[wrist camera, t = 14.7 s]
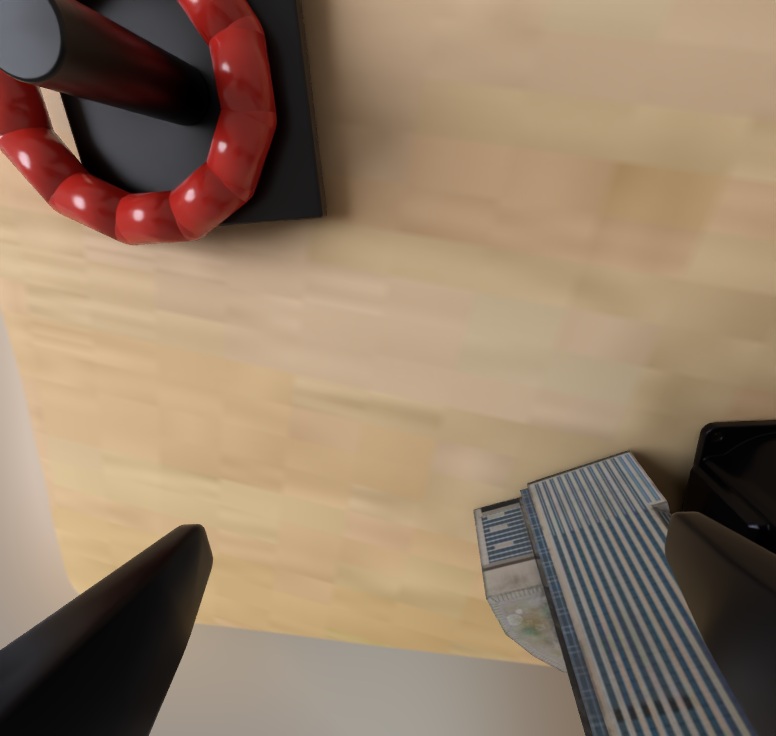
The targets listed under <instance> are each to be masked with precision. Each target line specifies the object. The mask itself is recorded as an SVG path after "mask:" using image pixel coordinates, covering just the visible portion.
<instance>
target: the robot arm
mask: <svg viewBox="0 0 776 736" xmlns="http://www.w3.org/2000/svg"><path fill="white" fill-rule="evenodd" d="M715 432H717V434H716V435H714V436H712V434H714V433H715ZM711 436H712V437H711ZM665 555H666V559H667V561H668V563H669V566H670V568H671V570H672V572H673V575H674V577H675V579H676V581H677V583H678V586H679V588H680V590H681V592H682V594H683V597H684V599H685V601H686V603H687V605H688V608H689V610H690V612H691V614H692V616H693V619H694V621H695V623H696V625H697V628H698V630H699V632H700V634H701V636H702V638H703V640H704V642H705V644H706V646H707V648H708V650H709V652H710V653H711V655H712V657H713V659H714V661H715V662H716V664H717V666H718V668H719V669H720V671H721V673H722V675H723V676H724V678H725V680H726V682H727V683H728V685H729V687H730V689H731V690H732V692H733V694H734V696H735V697H736V699H737V701H738V703H739V704H740V706H741V708H742V710H743V711H744V713H745V715H746V717H747V718H748V720H749V722H750V724H751V725H752V727H753V729H754V731H755V732H756V734H757V736H776V420H764V421H739V422H714V423H709V424H707V425H705V426H704V427H703V428H702V430H701V432H700V437H699V441H698V446H697V450H696V455H695V459H694V464H693V467H692V469H691V472H690V476H689V481H688V486H687V490H686V495H685V499H684V504H683V512H675V513H673V514H672V516H671V518H670V522H669V526H668V531H667V536H666V541H665ZM212 564H213V556H212V551H211V548H210V545H209V541H208V538H207V535H206V531H205V529H204V527H203V526H202V525H200V524H187V525H181V526H179V527H177V528H176V529H174V530H173V531H171V532H170V533H168V534H167V535H166V536H164V537H163V538H161V539H160V540H158V541H157V542H156V543H154V544H153V545H151V546H150V547H148V548H147V549H145V550H144V551H143V552H141V553H140V554H138V555H137V556H135V557H134V558H132V559H131V560H130V561H128V562H127V563H125V564H124V565H122V566H121V567H120V568H118V569H117V570H115V571H114V572H112V573H111V574H109V575H108V576H107V577H105V578H104V579H102V580H101V581H99V582H98V583H96V584H95V585H94V586H92V587H91V588H89V589H88V590H86V591H85V592H83V593H82V594H81V595H79V596H78V597H76V598H75V599H73V600H72V601H71V602H69V603H68V604H66V605H65V606H63V607H62V608H60V609H59V610H58V611H56V612H55V613H54V614H52V615H50V616H49V617H47V618H46V619H45V620H43V621H42V622H40V623H39V624H37V625H36V626H34V627H33V628H32V629H30V630H29V631H27V632H26V633H24V634H23V635H22V636H20V637H19V638H17V639H16V640H14V641H13V642H11V643H10V644H9V645H7V646H6V647H4V648H3V649H2V650H0V736H149V734H150V731H151V729H152V727H153V724H154V722H155V720H156V717H157V715H158V712H159V710H160V708H161V705H162V703H163V701H164V698H165V696H166V694H167V691H168V689H169V687H170V684H171V682H172V680H173V677H174V675H175V672H176V670H177V668H178V666H179V663H180V661H181V659H182V656H183V653H184V651H185V649H186V646H187V643H188V640H189V637H190V635H191V632H192V628H193V625H194V622H195V619H196V616H197V613H198V610H199V607H200V603H201V600H202V597H203V594H204V591H205V588H206V585H207V581H208V578H209V575H210V572H211V569H212Z"/></svg>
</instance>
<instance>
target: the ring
mask: <svg viewBox="0 0 776 736" xmlns="http://www.w3.org/2000/svg"><path fill="white" fill-rule="evenodd" d="M177 2H178V3H179V5H180V6H181V7H182V9H183V10H184V12H185V13H186V15H187V16H188V18H189V19H190V20H191V22H192V23H193V25H194V26H195V28H196V29H197V31H198V32H199V34H200V35H201V36H202V38H203V39H204V41H205V42H206V44H207V45H208V47H209V50H210V55H211V60H212V66H213V71H214V76H215V81H216V87H217V92H218V97H219V102H220V108H221V110H220V114H219V117H218V121H217V124H216V128H215V131H214V135H213V138H212V142H211V145H210V149H209V152H208V156H207V160H206V162H205V163H203V164H202V165H201V166H200V167H199V168H198V169H197V170H195V171H194V172H193V173H192V174H191V175H190V176H189V177H187V178H186V179H185V180H184V181H183V182H182V183H180V184H179V185H178V186H177V187H176V188H175V189H174V190H171V191H159V192H147V193H135V194H131V193H129V192H127V191H125V190H123V189H120V188H118V187H116V186H114V185H112V184H110V183H108V182H106V181H104V180H102V179H100V178H98V177H95V176H93V175H91V174H89V172H88V171H87V170H86V169H85V168H84V166H83V165H82V164H81V163H80V162H79V160H78V159H77V158H76V157H75V156H74V155H73V153H72V152H71V151H70V150H69V149H68V147H67V146H66V145H65V144H64V143H63V141H62V140H61V139H60V138H59V137H58V135H57V134H56V133H55V132H54V130H53V127H52V124H51V121H50V118H49V114H48V111H47V108H46V105H45V102H44V99H43V96H42V93H41V89H40V86H36V85H32V84H29V83H25V82H21V81H19V80H16V79H14V78H12V77H11V76H9V75H7V74H6V73H5V72H3V71H2V70H1V69H0V150H1V151H2V152H3V153H4V154H5V156H6V157H7V158H8V159H9V160H10V161H11V162H12V163H13V165H14V166H15V167H16V168H17V169H18V170H19V171H20V172H21V174H22V175H23V176H24V177H25V178H26V179H27V180H28V181H29V183H30V184H31V185H32V186H33V187H34V188H35V189H36V190H37V192H38V193H39V194H40V195H41V196H42V197H43V198H44V199H45V201H46V202H47V203H48V204H49V205H50V206H51V207H52V208H53V209H54V210H55V211H57V212H58V213H60V214H62V215H64V216H66V217H68V218H70V219H72V220H75V221H77V222H79V223H81V224H83V225H85V226H87V227H90V228H92V229H94V230H96V231H98V232H100V233H102V234H105V235H107V236H109V237H111V238H113V239H115V240H117V241H120V242H122V243H125V244H129V245H144V244H157V243H170V242H184V241H195V240H198V239H201V238H203V237H204V236H206V235H207V234H208V233H209V232H211V231H212V230H213V229H214V228H215V227H217V226H218V225H219V224H220V223H222V222H223V221H224V220H225V219H227V218H228V217H229V216H230V215H232V214H233V213H234V212H235V211H236V210H238V209H239V208H240V207H241V206H243V205H244V204H245V203H246V202H248V201H249V200H250V199H251V198H252V196H253V194H254V193H255V190H256V187H257V184H258V181H259V178H260V175H261V172H262V169H263V166H264V163H265V160H266V157H267V154H268V151H269V148H270V145H271V142H272V139H273V136H274V133H275V130H276V125H277V113H276V106H275V99H274V92H273V86H272V79H271V72H270V66H269V59H268V52H267V46H266V39H265V34H264V30H263V27H262V25H261V23H260V21H259V19H258V18H257V16H256V15H255V13H254V12H253V10H252V9H251V7H250V6H249V4H248V2H247V1H246V0H177Z"/></svg>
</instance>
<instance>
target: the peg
mask: <svg viewBox="0 0 776 736" xmlns="http://www.w3.org/2000/svg"><path fill="white" fill-rule="evenodd" d="M246 1H247V2H248V4H249V6H250V7H251V9H252V10H253V12H254V13H255V15H256V16H257V18H258V19H259V21H260V23H261V25H262V27H263V30H264V34H265V39H266V46H267V52H268V59H269V66H270V72H271V79H272V86H273V92H274V99H275V106H276V113H277V125H276V130H275V133H274V136H273V139H272V142H271V145H270V148H269V151H268V154H267V157H266V160H265V163H264V166H263V169H262V172H261V175H260V178H259V181H258V184H257V187H256V190H255V193H254V194H253V196H252V198H251V199H250V200H249V201H248V202H246V203H245V204H244V205H243V206H241V207H240V208H239V209H238V210H236V211H235V212H234V213H233V214H232V215H230V216H229V217H228V218H227V219H225V220H224V221H223V222H222V223H220V224H219V225H218V226H221V225H234V224H247V223H259V222H272V221H284V220H297V219H309V218H321V217H325V216H327V210H326V202H325V194H324V185H323V177H322V169H321V161H320V153H319V144H318V136H317V128H316V120H315V112H314V104H313V95H312V87H311V79H310V71H309V63H308V54H307V46H306V38H305V30H304V22H303V14H302V5H301V0H246ZM0 69H1V70H2V71H3V72H5V73H6V74H7V75H9V76H11V77H12V78H14V79H16V80H19V81H21V82H25V83H29V84H32V85H36V86H40V87H43V88H47V89H50V90H54V91H58V92H60V95H61V98H62V101H63V105H64V108H65V111H66V114H67V118H68V121H69V124H70V127H71V131H72V134H73V137H74V140H75V144H76V147H77V150H78V153H79V157H80V160H81V163H82V165H83V166H84V168H85V169H86V170H87V171H88V172H89V174H91V175H93V176H95V177H98V178H100V179H102V180H104V181H106V182H108V183H110V184H112V185H114V186H116V187H118V188H120V189H123V190H125V191H127V192H129V193H131V194H135V193H147V192H159V191H171V190H174V189H175V188H176V187H177V186H178V185H179V184H180V183H182V182H183V181H184V180H185V179H186V178H187V177H189V176H190V175H191V174H192V173H193V172H194V171H195V170H197V169H198V168H199V167H200V166H201V165H202V164H203V163H205V162H206V160H207V156H208V152H209V149H210V145H211V142H212V138H213V135H214V131H215V128H216V124H217V121H218V117H219V114H220V110H221V108H220V102H219V97H218V92H217V87H216V81H215V76H214V71H213V66H212V60H211V55H210V50H209V47H208V45H207V44H206V42H205V41H204V39H203V38H202V36H201V35H200V34H199V32H198V31H197V29H196V28H195V26H194V25H193V23H192V22H191V20H190V19H189V18H188V16H187V15H186V13H185V12H184V10H183V9H182V7H181V6H180V5H179V3H178V2H177V0H0Z"/></svg>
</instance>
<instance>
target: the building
mask: <svg viewBox="0 0 776 736" xmlns="http://www.w3.org/2000/svg"><path fill="white" fill-rule="evenodd" d="M527 485H528V488H527V489H524V490H520V492H521V495H522V498H517V499H513V500H509V501H506V502H502V503H498V504H494V505H491V506H487V507H483V508H480V509H476V510H474V517H475V524H476V531H477V538H478V545H479V552H480V559H481V566H482V573H483V580H484V587H485V594H486V599H487V601H488V603H489V604H490V606H491V608H492V610H493V612H494V614H495V616H496V617H497V619H498V621H499V623H500V625H501V627H502V628H503V630H504V632H505V634H506V635H507V636H509V637H510V638H511V639H512V640H514V641H515V642H516V643H517V644H519V645H520V646H521V647H522V648H524V649H525V650H526V651H528V652H529V653H530V654H531V655H533V656H534V657H536V658H538V659H540V660H542V661H544V662H545V663H547V664H549V665H551V666H553V667H555V668H557V669H559V670H560V671H562V672H566V673H568V676H569V679H570V683H571V686H572V690H573V693H574V697H575V700H576V704H577V707H578V711H579V714H580V718H581V721H582V725H583V728H584V732H585V735H586V736H757V734H756V732H755V731H754V729H753V727H752V725H751V724H750V722H749V720H748V718H747V717H746V715H745V713H744V711H743V710H742V708H741V706H740V704H739V703H738V701H737V699H736V697H735V696H734V694H733V692H732V690H731V689H730V687H729V685H728V683H727V682H726V680H725V678H724V676H723V675H722V673H721V671H720V669H719V668H718V666H717V664H716V662H715V661H714V659H713V657H712V655H711V653H710V652H709V650H708V648H707V646H706V644H705V642H704V640H703V638H702V636H701V634H700V632H699V630H698V628H697V625H696V623H695V621H694V619H693V616H692V614H691V612H690V610H689V608H688V605H687V603H686V601H685V599H684V597H683V594H682V592H681V590H680V588H679V586H678V583H677V581H676V579H675V577H674V575H673V572H672V570H671V568H670V566H669V563H668V561H667V559H666V555H665V541H666V536H667V531H668V526H669V522H670V518H671V516H672V515H671V514H670V510H669V505H668V502H667V501H666V499H665V498H664V496H663V495H662V494H661V492H660V491H659V490H658V488H657V487H656V486H655V484H654V483H653V481H652V480H651V479H650V477H649V476H648V475H647V473H646V472H645V471H644V469H643V468H642V467H641V465H640V464H639V462H638V461H637V460H636V458H635V457H634V456H633V454H632V453H631V452H630V450H629V451H626V452H623V453H620V454H616V455H613V456H610V457H607V458H604V459H601V460H598V461H595V462H592V463H589V464H586V465H583V466H580V467H577V468H574V469H571V470H568V471H564V472H561V473H558V474H555V475H552V476H549V477H546V478H543V479H540V480H537V481H534V482H531V483H528V484H527Z"/></svg>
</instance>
